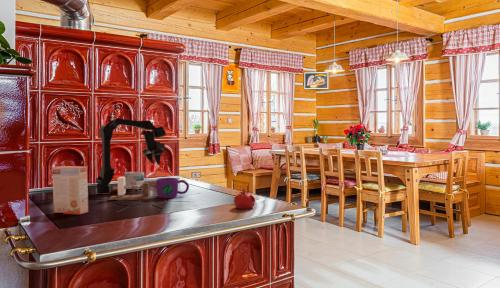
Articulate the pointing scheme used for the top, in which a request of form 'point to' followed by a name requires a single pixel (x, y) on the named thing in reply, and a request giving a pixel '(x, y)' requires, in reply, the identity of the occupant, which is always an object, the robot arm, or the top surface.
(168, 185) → the mug
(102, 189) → the robot arm
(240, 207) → the pomegranate
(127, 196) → the rod stand
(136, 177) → the light bulb box
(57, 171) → the cracker box
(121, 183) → the tan rectangular block
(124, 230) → the top surface
